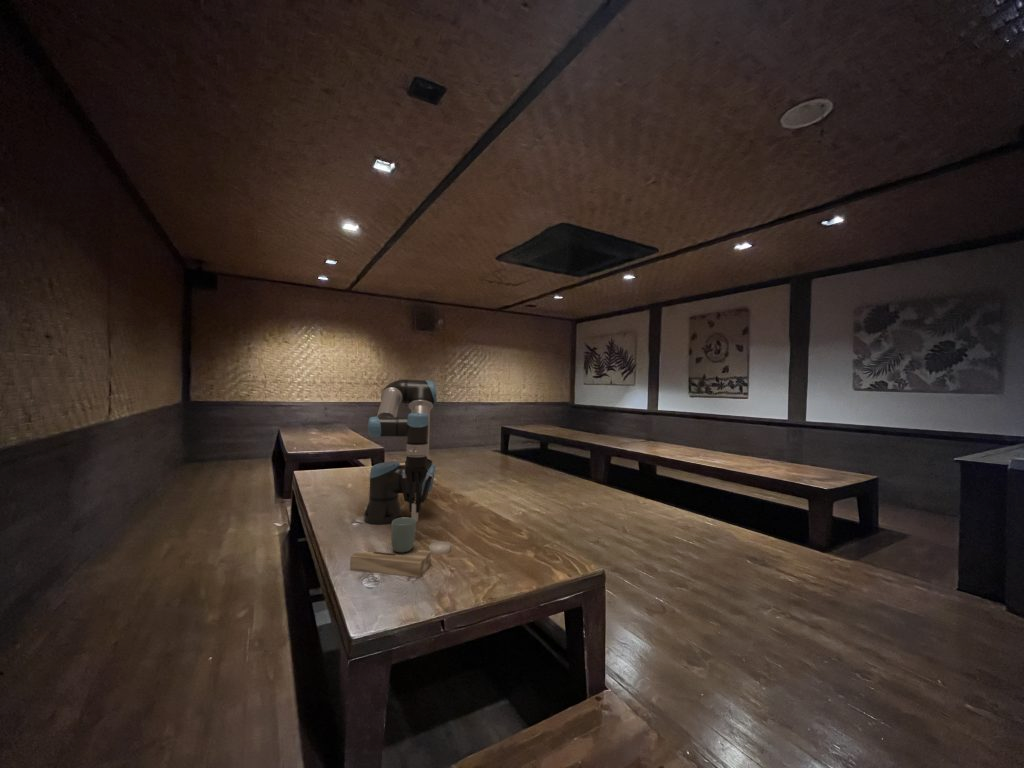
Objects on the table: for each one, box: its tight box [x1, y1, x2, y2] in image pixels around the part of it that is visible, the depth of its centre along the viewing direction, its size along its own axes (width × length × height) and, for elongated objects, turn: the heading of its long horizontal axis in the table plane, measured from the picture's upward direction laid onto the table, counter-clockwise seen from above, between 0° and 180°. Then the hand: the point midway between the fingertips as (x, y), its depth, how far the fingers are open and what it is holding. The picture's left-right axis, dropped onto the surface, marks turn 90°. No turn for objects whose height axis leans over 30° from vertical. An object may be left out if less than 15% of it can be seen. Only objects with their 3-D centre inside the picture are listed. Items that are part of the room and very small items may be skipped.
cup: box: [390, 516, 417, 553], centre depth 134 cm, size 8×8×10 cm
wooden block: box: [349, 549, 432, 578], centre depth 121 cm, size 9×22×4 cm, turn 81°
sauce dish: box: [428, 540, 451, 555], centre depth 135 cm, size 7×7×2 cm
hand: (414, 521), depth 143 cm, fingers closed
